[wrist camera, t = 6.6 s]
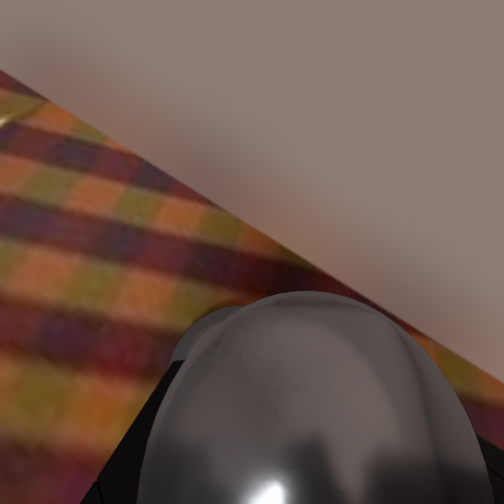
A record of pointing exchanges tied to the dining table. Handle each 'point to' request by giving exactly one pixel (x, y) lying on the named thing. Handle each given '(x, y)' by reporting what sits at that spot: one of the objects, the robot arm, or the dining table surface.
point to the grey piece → (311, 414)
